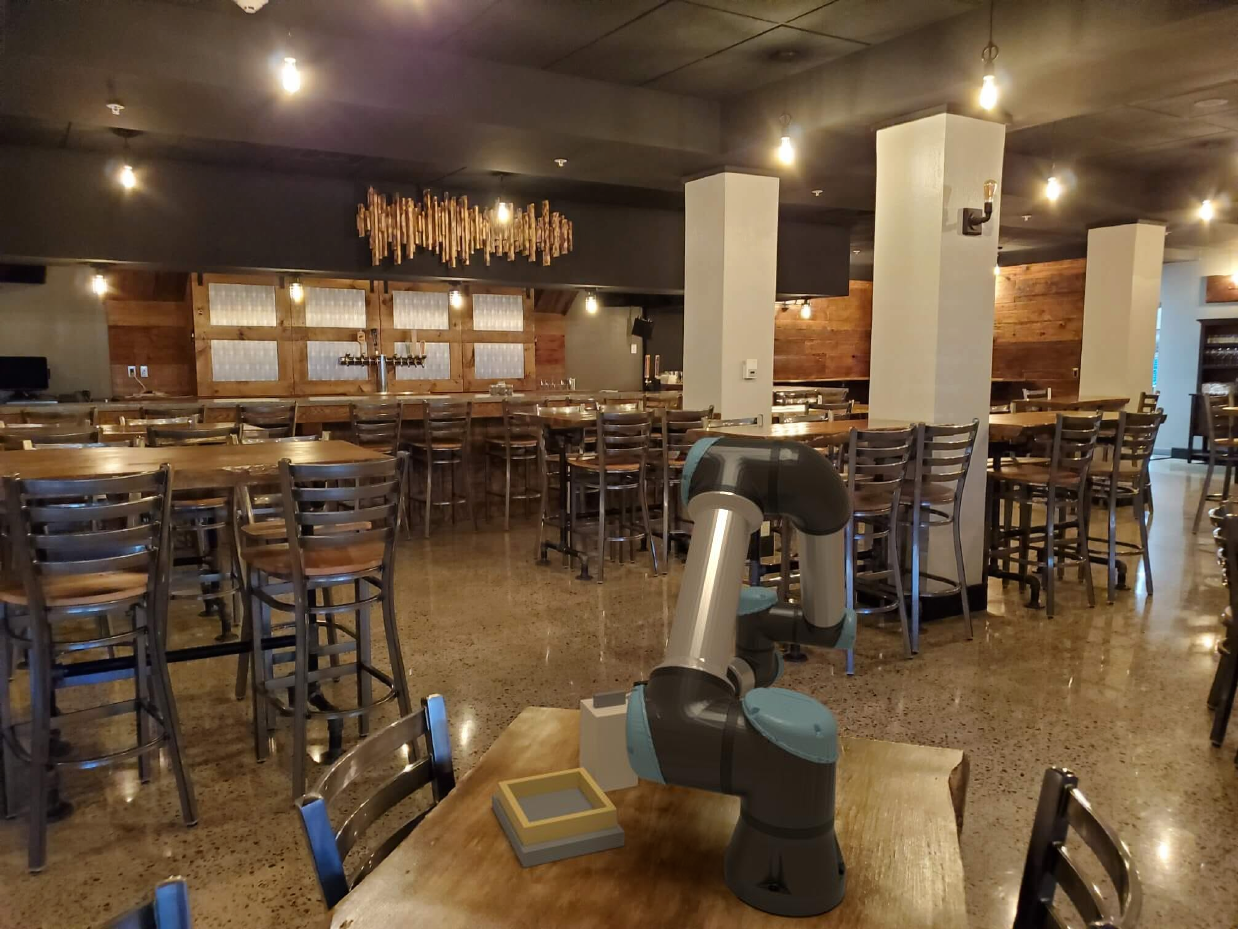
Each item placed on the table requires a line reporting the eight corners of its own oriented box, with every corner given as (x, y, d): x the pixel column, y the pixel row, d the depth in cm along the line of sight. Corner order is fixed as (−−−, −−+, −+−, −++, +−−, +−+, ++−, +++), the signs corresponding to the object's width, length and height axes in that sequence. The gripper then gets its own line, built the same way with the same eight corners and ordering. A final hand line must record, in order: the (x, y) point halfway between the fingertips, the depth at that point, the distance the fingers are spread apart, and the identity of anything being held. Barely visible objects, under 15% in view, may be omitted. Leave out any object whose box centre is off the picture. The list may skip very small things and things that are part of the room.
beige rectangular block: (637, 785, 130) (639, 698, 129) (595, 793, 128) (596, 704, 126) (620, 765, 137) (621, 682, 135) (579, 773, 134) (580, 687, 133)
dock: (624, 845, 114) (624, 814, 113) (523, 867, 108) (523, 834, 108) (582, 790, 129) (583, 762, 128) (492, 807, 123) (492, 778, 123)
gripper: (783, 723, 146) (710, 764, 131) (670, 685, 163) (593, 717, 147) (784, 681, 146) (711, 717, 130) (671, 647, 162) (594, 676, 147)
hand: (648, 717), depth 139 cm, fingers open, 13 cm apart
